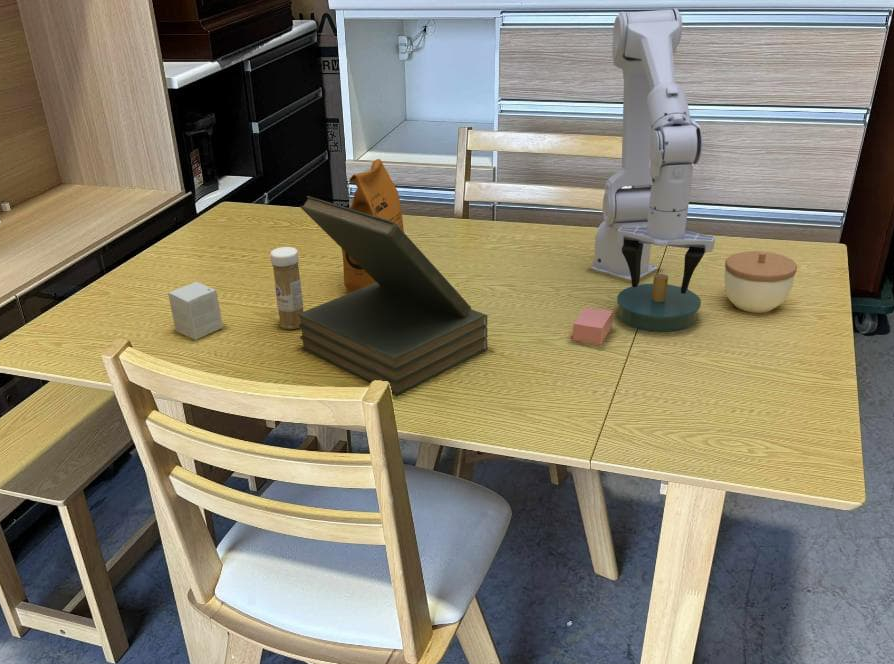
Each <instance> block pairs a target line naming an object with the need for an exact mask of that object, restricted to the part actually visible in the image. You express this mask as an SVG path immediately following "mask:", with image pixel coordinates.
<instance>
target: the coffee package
mask: <svg viewBox="0 0 894 664" xmlns="http://www.w3.org/2000/svg"><path fill="white" fill-rule="evenodd" d="M349 182H350V183H355V186H356V190H355V192H354V195H353V198H352V202H351V205H350V207H349V208H350V209H353V210H356V211H359V212H363V213H366V214H369V215H373V216H376V217H379V218H383V219H386V220H389V221H392V222H395V223H396V224H397V225H398V226H399V228H400V229H401V230H402V231H403V232H404V233H405V228H404V219H403V211H402V205H401V199H400V196H399V191H398V190H397V186H396V185H395V182H394V181H393V180H392V178H391V175H390V174H389V172H388V170H387V168H386V167H385V166H384V164H383V161H382V159H381V158H376V159H375V160H373V161H372V163H371V165H370V170H367V171H363V172H358V173H354V174H352V175H351V177H349ZM341 252H342V253H341V254H342V264H343V265H342V266H343V285H344V287H345V289H346V290H347V292H348V293H351V292H353V291H356V290H358V289H361V288H363V287H366V286H368V285H371V284H373V283H376V281H375V280H374V279H373V278H372V277H371V276H370V275H369V274H368V273H367V272H366V271H365V270H364V269H363V268H362V267H361V266H360V265H358V264H357V263H356V262H355V261H354V260H353V259H352V258H351V257H350V256H349V255H348V254H347V253H346V252H345V251H344V250H343V249H342V248H341Z"/></svg>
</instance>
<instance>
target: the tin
mask: <svg viewBox="0 0 894 664" xmlns="http://www.w3.org/2000/svg"><path fill="white" fill-rule="evenodd" d="M617 318H619V320H620V321H621V323H623V324H625V325H627V326H628V327H630V328H633V329H636V330H639V331H644V332H651V333H672V332H679V331H682V330H685V329H688V328H690V327H692V326H693V325H694V324H695V323H696V320H697V318H698V311H697V312H695V313H694V314H692V315H689V316H686V317H682V318H676V319H651V318H645V317H640V316H636V315H633V314H631V313H628V312H626V311H625V310H623V309H622V308H621V307H620V306H619V305H618V309H617Z"/></svg>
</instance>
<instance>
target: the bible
mask: <svg viewBox="0 0 894 664" xmlns="http://www.w3.org/2000/svg"><path fill="white" fill-rule="evenodd" d="M306 198H307V200H306V201H305V203H304V204H303V205H300V207H299V208H300V209H301V210H302V211H303V212H304V213H305V214H306V215H307V216H308V217H309V218H310V219H311V220H313V222H314V223H315V224H316V225H317V226H319V228H320V229H321V230H323V232H325V234H327V235H328V236H329V238H331V239H332V240H333V241H334V242H335V243H336V244H337V246H339V247H340V249H341V250H342V249H343V250H344V251H345V252H346V253H347V254H348V255H349V256H350V257H351V258H352V259H353V260H354V261H355V262H356V263H357V264H358V265H360V266H361V267H362V268H363V269H364V270H365V271H366V272H367V273H368V274H369V275H370V276H371V277H372V278H373V279H374V280H375V281H376V283H373V284H371V285H368V286H366V287H363V288H361V289H358V290H356V291H353V292H351V293H350V292H348V293H346V294H344V295H341V296H339V297H337V298H334V299H332V300H331V299H330V300H329V301H327V302H324V303H321V304H319V305H316V306H314V307H312V308H309V309H307V310H305V311H304V310H303V311H304V312H302V313H299V314H298V316H299V317H300V321H301V324H299V328H298V329H301V335H300V336H299V338H300V340H302V345H303V346H301V350H303V351H305V352H307V353H309V354H311V355H313V356H315V357H317V358H319V359H320V360H324V361H325V362H327V363H329V364H331V365H333V366H335V367H337V368H339V369H341V370H343V371H344V372H348V373H349V374H351V375H353V376H355V377H357V378H359V379H361V380H363V381H365V382H367V383H369V384H371V383H370V382H372V381H374V380H382V381H388V382H389V383H390V386H391V390H392V395H393V396H395V397H398V396H400V395H402V394H405V393H406V392H408V391H410V390H412V389H414V388H416V387H418V386H419V385H421V384H424V383H425V382H427V381H430V380H432V379H434V378H435V377H438V376H440V375H441V374H443V373H446V372H448V371H449V370H452V369H453V368H455V367H457V366H459V365H461V364H463V363H465V362H467V361H469V360H470V359H473V358H475V357H477V356H478V355H481V354H482V353H484V352H486V351H487V350H488V339H487V338H488V327H487V326H488V315H487V314H485V313H483V312H480V311H478V310H474V309H472V306H471V305H470V304H469V303H468V301H466V300H465V299H464V298H463V296H462V295H461V294H460V293H459V291H457V289H455V287H454V286H453V285H452V284H451V283H450V282H449V280H448V279H447V278H446V277H445V276H444V275H443V273H441V272H440V270H438V268H437V267H436V266H435V265H434V264H433V263H432V262H431V261H430V259H428V257H427V256H426V255H425V254H424V253H423V251H421V250H420V249H419V247H418V246H417V245H416V244H415V243H414V242H413V241H412V240H411V238H410V237H409V236H408V235H407V234H406V233H405V231H404V232H403V231H402V230H401V229H400V228H399V226H398V225H397V224H396V223H395V222H392V221H389V220H386V219H383V218H379V217H376V216H373V215H369V214H366V213H363V212H359V211H356V210H353V209H350V207H347V206H342V205H340V204H337V203H333V202H329V201H326V200H322V199H319V198H316V197H313V196H310V195H306Z"/></svg>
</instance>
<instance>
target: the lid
mask: <svg viewBox="0 0 894 664" xmlns="http://www.w3.org/2000/svg"><path fill="white" fill-rule="evenodd" d="M652 281H653V282H652V283H643V284H638V285H637V287H632V286H629V287H626V288H624V289H623V290H621V291H620V292H619V293H618V295H617V297H616V303H617V305H618V307H619V306H620V307H621V308H622V309H623V310H625V311H626V312H628V313H631V314H633V315H636V316H640V317H645V318H651V319H676V318H682V317H686V316H689V315H692V314H694V313H695V312H697V313H698V311H699V310H700V308H701V306H702V305H701V304H702V300H701V297H699V295H697V294H696V293H694V291H692V290H689V289H688V290H687V291H686V293H685V294H682V293H681V286H677V285H672V284H668V283H669V275H668V274H664V273H656V274H655V275H653V280H652Z"/></svg>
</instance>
